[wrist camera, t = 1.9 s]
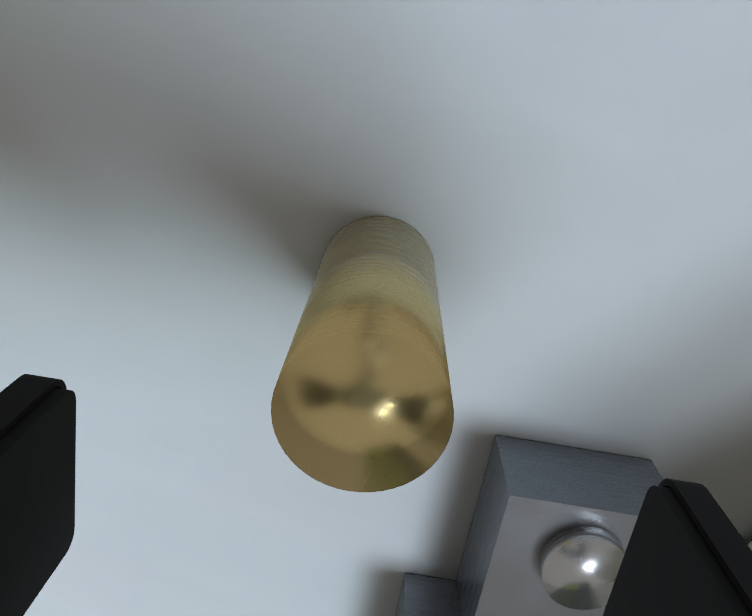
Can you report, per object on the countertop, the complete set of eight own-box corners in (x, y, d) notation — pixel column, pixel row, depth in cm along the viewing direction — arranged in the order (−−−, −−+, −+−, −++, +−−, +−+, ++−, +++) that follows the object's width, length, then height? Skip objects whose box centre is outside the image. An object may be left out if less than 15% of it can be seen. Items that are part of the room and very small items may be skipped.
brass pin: (330, 207, 19) (281, 318, 11) (444, 226, 19) (471, 349, 11) (315, 312, 20) (262, 477, 12) (423, 330, 20) (434, 504, 12)
